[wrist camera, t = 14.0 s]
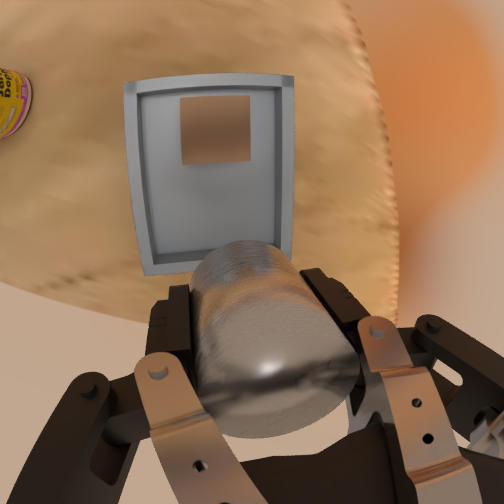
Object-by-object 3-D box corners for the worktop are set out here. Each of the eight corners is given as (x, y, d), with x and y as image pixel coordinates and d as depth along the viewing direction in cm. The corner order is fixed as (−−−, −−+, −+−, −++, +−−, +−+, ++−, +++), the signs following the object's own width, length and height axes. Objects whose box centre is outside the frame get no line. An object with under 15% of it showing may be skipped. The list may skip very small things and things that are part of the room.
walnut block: (182, 105, 20) (179, 97, 15) (237, 103, 20) (250, 95, 16) (184, 158, 21) (182, 165, 17) (238, 155, 22) (250, 161, 18)
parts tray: (148, 261, 25) (144, 276, 23) (131, 88, 19) (123, 83, 16) (281, 247, 28) (290, 261, 25) (282, 81, 21) (293, 76, 18)
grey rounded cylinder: (197, 337, 12) (210, 446, 7) (182, 246, 10) (181, 354, 5) (292, 323, 13) (342, 417, 8) (297, 234, 11) (377, 318, 6)
